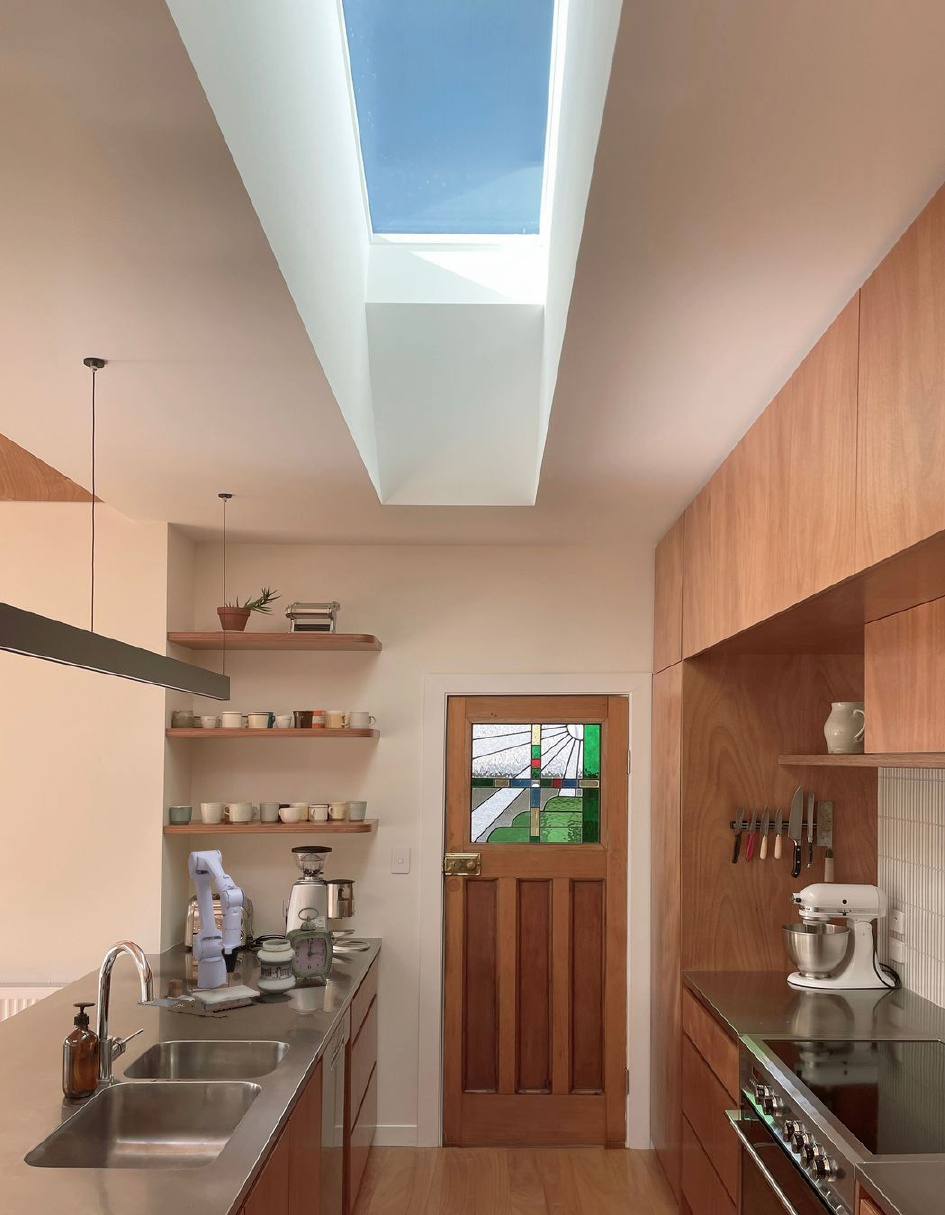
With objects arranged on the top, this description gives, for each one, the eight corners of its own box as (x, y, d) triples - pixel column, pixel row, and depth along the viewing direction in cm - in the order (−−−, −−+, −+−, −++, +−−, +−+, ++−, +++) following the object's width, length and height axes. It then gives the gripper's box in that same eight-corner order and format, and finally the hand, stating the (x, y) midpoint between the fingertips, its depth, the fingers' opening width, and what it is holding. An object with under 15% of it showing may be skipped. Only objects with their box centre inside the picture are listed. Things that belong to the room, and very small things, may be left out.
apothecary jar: (248, 1000, 332) (249, 941, 334) (279, 993, 341) (280, 935, 343) (271, 1009, 324) (273, 948, 326) (303, 1000, 333) (304, 941, 334)
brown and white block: (167, 999, 334) (167, 981, 334) (174, 996, 337) (175, 978, 338) (191, 1002, 331) (191, 984, 331) (199, 999, 334) (199, 981, 335)
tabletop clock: (288, 990, 344) (290, 911, 346) (281, 983, 352) (283, 906, 354) (331, 985, 350) (333, 908, 352) (324, 979, 358) (325, 903, 360)
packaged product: (190, 1008, 322) (205, 1017, 314) (191, 992, 322) (206, 1000, 315) (243, 999, 334) (259, 1007, 326) (244, 983, 334) (260, 991, 326)
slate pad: (149, 999, 333) (149, 997, 333) (179, 1003, 329) (179, 1001, 329) (137, 1004, 328) (137, 1002, 328) (167, 1008, 324) (167, 1006, 324)
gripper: (221, 923, 344) (220, 966, 343) (215, 933, 329) (214, 978, 328) (244, 922, 344) (243, 966, 343) (238, 933, 330) (237, 978, 329)
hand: (230, 972), depth 336 cm, fingers closed
